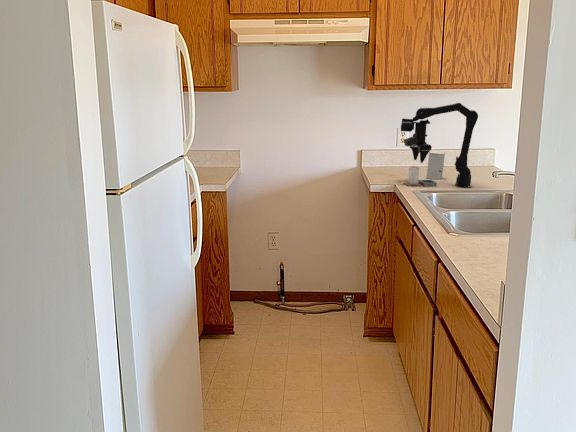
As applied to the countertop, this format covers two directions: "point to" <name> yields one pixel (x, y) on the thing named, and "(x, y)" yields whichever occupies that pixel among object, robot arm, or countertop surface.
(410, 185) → the walnut pad
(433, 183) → the square metal frame
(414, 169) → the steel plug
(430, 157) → the skincare box
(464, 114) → the robot arm
